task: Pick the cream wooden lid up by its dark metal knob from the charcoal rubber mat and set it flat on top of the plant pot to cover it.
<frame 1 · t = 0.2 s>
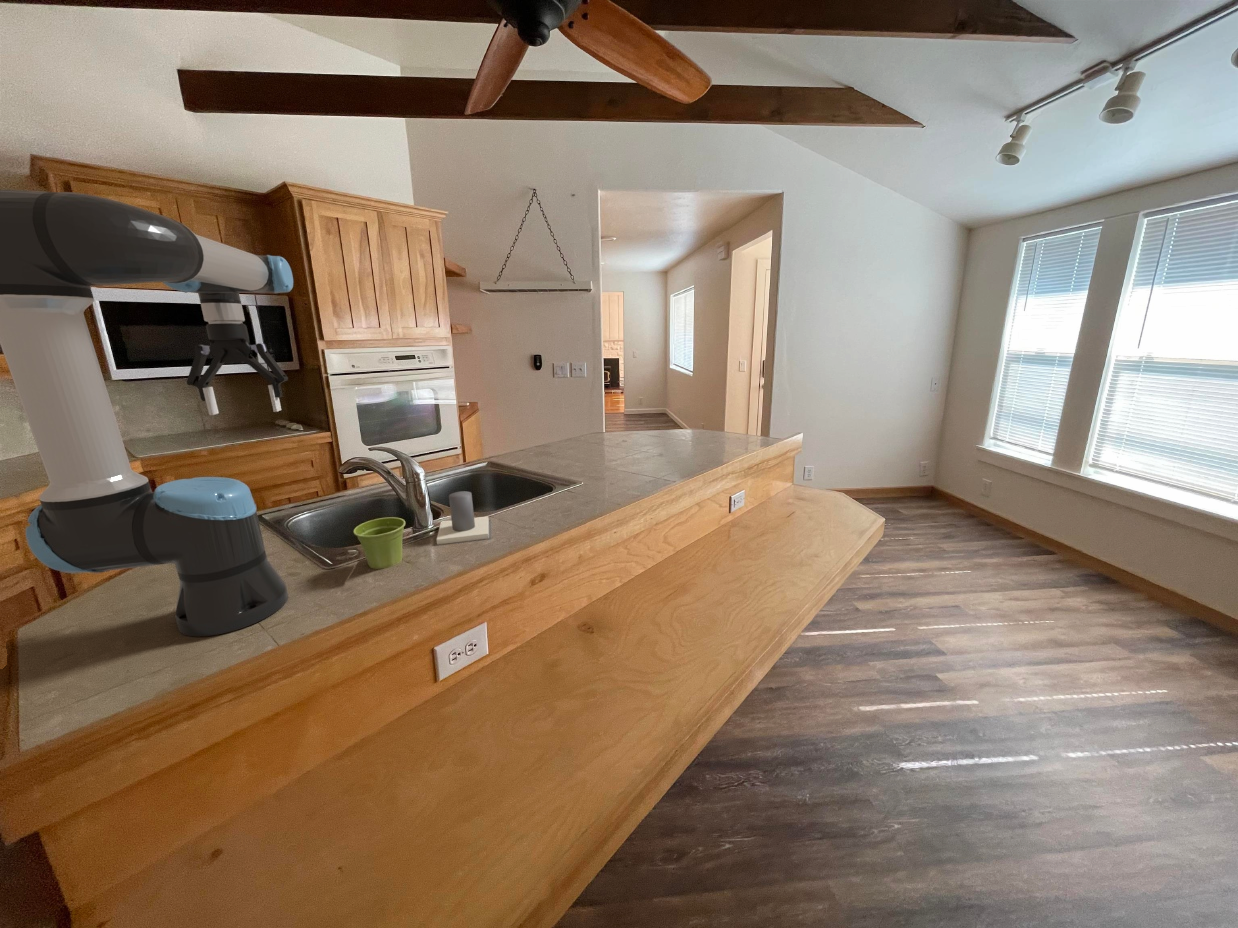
hand: (246, 412, 119), 28 cm above the table, tool pointing down, fingers open, 13 cm apart
plant pot: (386, 565, 99), on the table
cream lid: (464, 531, 113), point 1 cm above the table, touching charcoal mat
charcoal mat: (464, 535, 113), on the table
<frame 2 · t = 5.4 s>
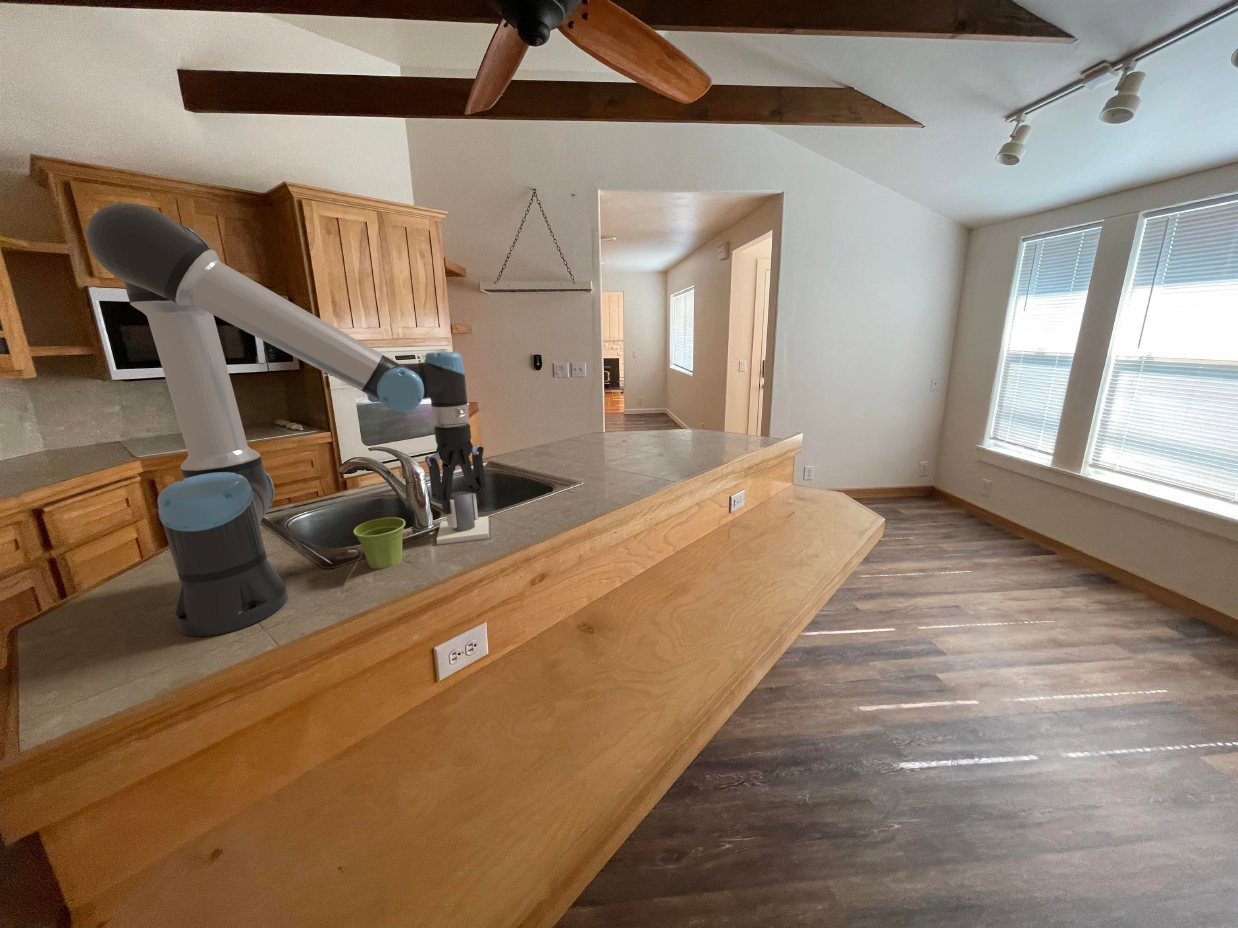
hand: (463, 522, 112), 3 cm above the table, tool pointing down, fingers closed on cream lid, 5 cm apart
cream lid: (464, 531, 113), point 1 cm above the table, touching charcoal mat, gripper
everything else where it was.
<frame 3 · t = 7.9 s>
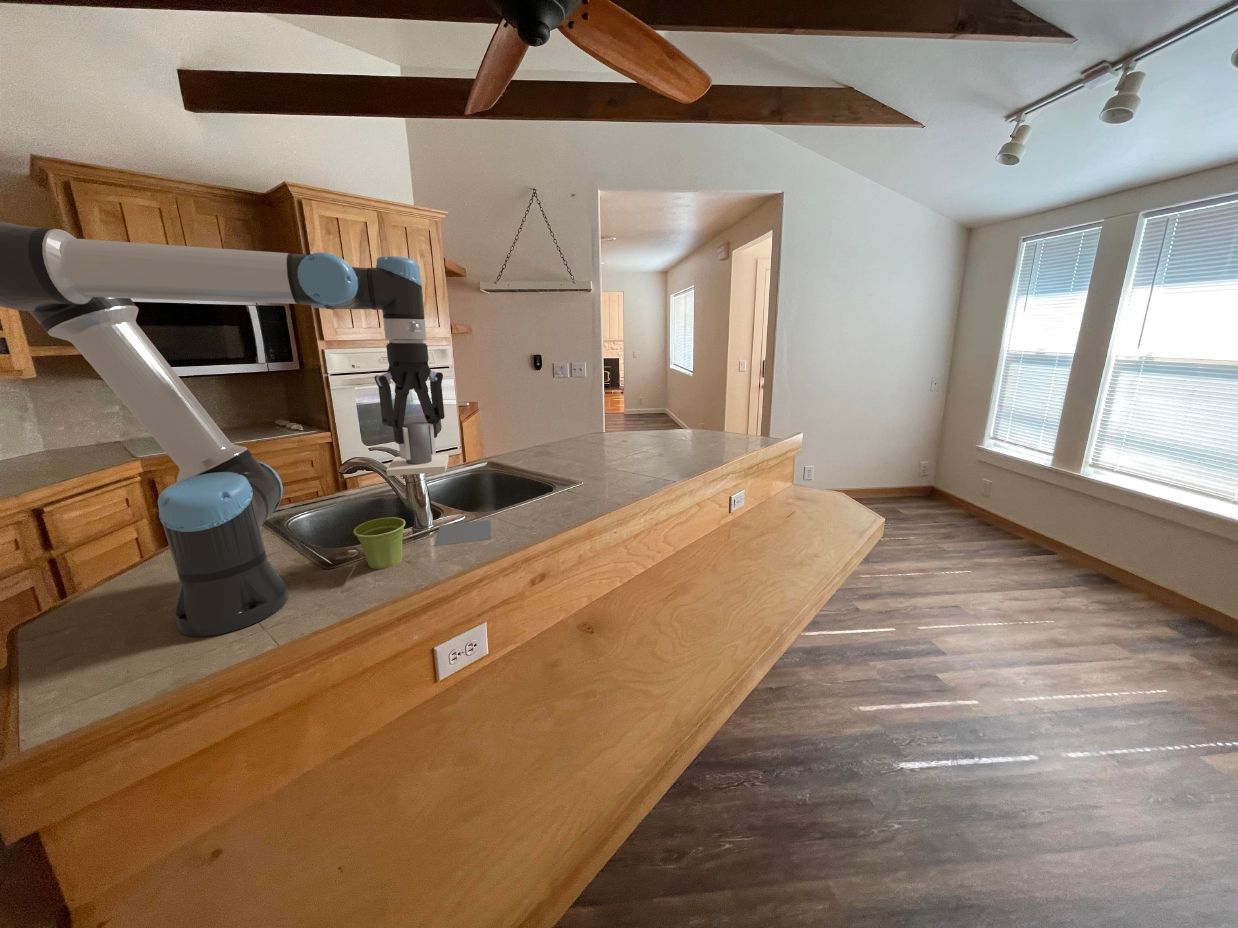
hand: (418, 455, 101), 21 cm above the table, tool pointing down, fingers closed on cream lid, 5 cm apart
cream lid: (419, 466, 102), point 19 cm above the table, touching gripper
everything else where it was.
when the fingers open (14 cm above the table, at t = 10.7 s): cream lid drops 3 cm, resting on plant pot.
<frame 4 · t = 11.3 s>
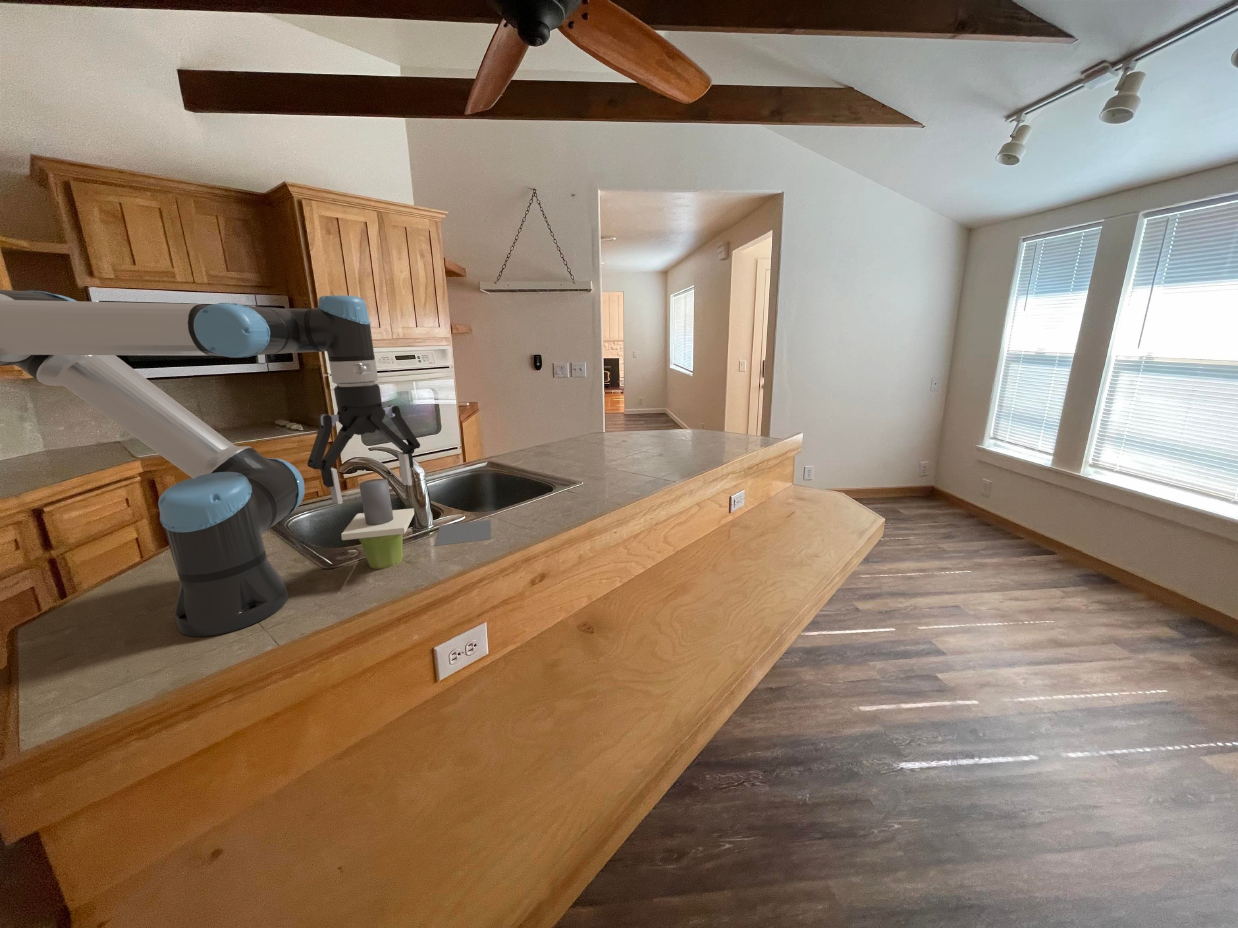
hand: (374, 492, 95), 16 cm above the table, tool pointing down, fingers open, 13 cm apart
plant pot: (386, 565, 99), on the table, touching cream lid
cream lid: (380, 525, 97), point 9 cm above the table, touching plant pot
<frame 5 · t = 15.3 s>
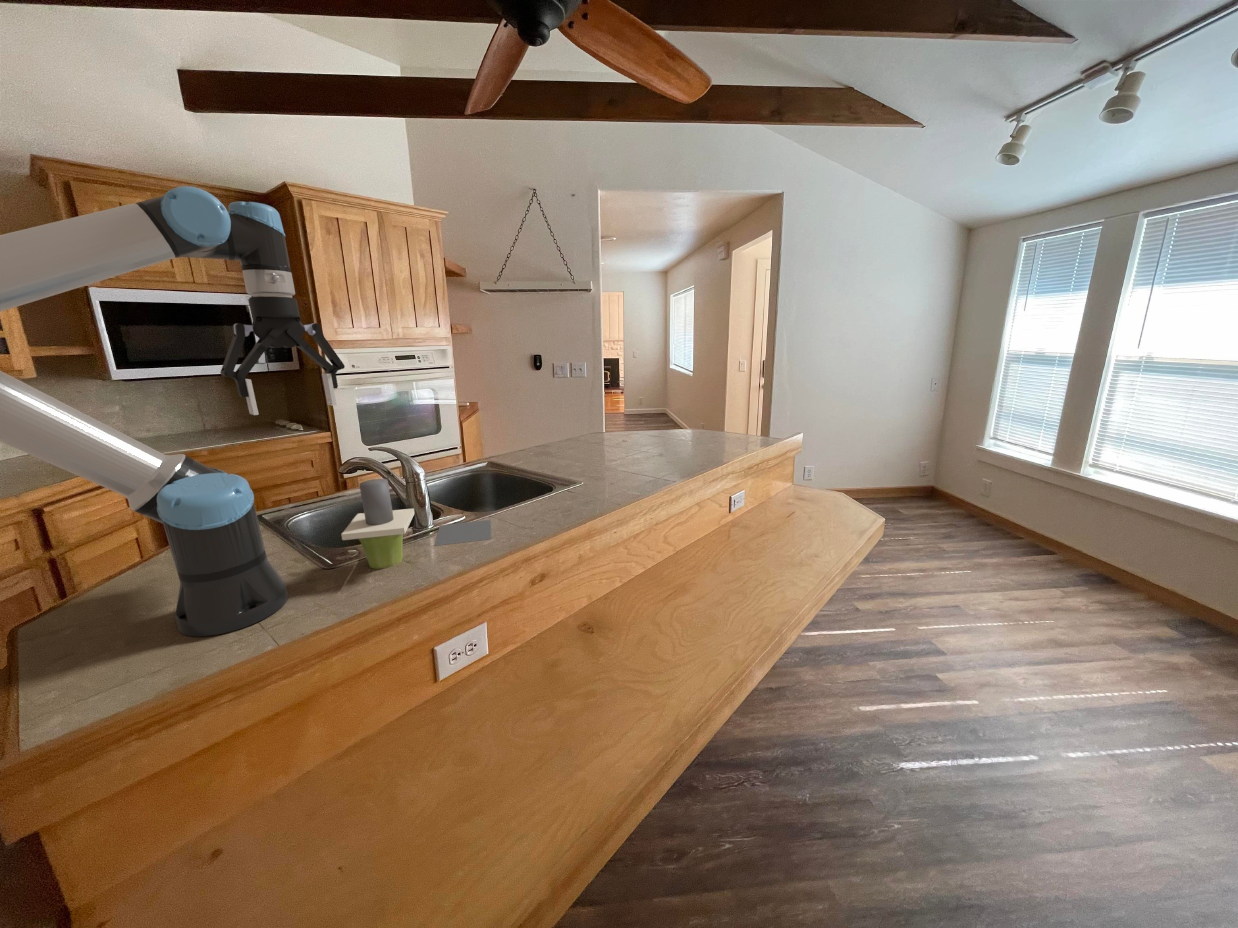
hand: (295, 409, 95), 32 cm above the table, tool pointing down, fingers open, 13 cm apart
nothing on the table moved.
at the end: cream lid 0.1 cm off-centre on the plant pot, point 8.9 cm above the plant pot's base; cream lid tilted 0°; plant pot tilted 0° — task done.
